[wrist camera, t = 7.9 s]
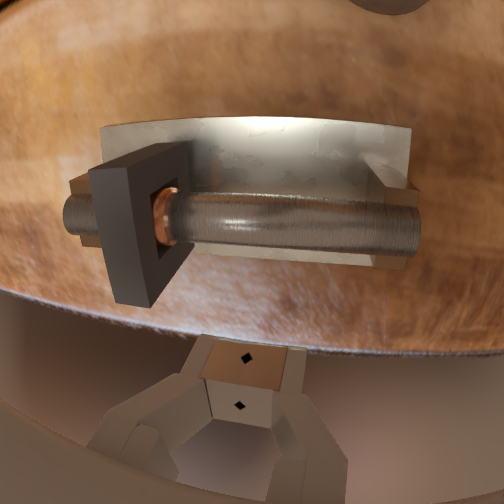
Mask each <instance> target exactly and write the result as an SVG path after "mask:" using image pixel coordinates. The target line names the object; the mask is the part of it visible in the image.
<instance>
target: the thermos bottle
mask: <svg viewBox="0 0 504 504" xmlns="http://www.w3.org/2000/svg"><path fill="white" fill-rule="evenodd" d="M351 1H352V2H354V3H355V4H357V5H359V6H361V7H363V8H365V9H367V10H371V11H374V12H377V13H382V14H390V15H399V14H404V13H409V12H411V11H414V10H416V9H417V8H419V7H420V6H421V5H423V4H424V3H426V2H427V1H428V0H351Z"/></svg>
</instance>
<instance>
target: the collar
mask: <svg viewBox="0 0 504 504" xmlns="http://www.w3.org/2000/svg"><path fill="white" fill-rule="evenodd" d="M88 174H89V181H90V187H91V194H92V200H93V205H94V211H95V216H96V222H97V227H98V232H99V237H100V241H101V246H102V250H103V255H104V259H105V263H106V268H107V272H108V276H109V280H110V283H111V287H112V291H113V295H114V298H115V302H116V303H120V304H126V305H132V306H138V307H144V308H151V307H152V305H153V304H154V303H155V301H156V300H157V298H158V297H159V295H160V294H161V293H162V291H163V290H164V288H165V287H166V286H167V284H168V283H169V281H170V280H171V279H172V277H173V276H174V274H175V273H176V272H177V270H178V269H179V268H180V266H181V265H182V263H183V262H184V261H185V259H186V258H187V257H188V255H189V254H190V252H191V251H192V250H193V248H194V247H195V244H194V243H191V242H177V243H176V244H175V245H159V244H156V239H155V232H154V225H153V217H152V209H151V201H150V194H152V193H153V192H155V191H156V190H158V189H159V188H177V189H178V190H179V191H180V192H190V184H189V170H188V154H187V142H166V143H155V144H152V145H149V146H146V147H144V148H141V149H138V150H136V151H133V152H130V153H128V154H125V155H123V156H120V157H118V158H115V159H113V160H110V161H108V162H105V163H103V164H101V165H98V166H96V167H94V168H91V169H89V170H88Z"/></svg>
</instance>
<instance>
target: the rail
mask: <svg viewBox="0 0 504 504" xmlns="http://www.w3.org/2000/svg"><path fill="white" fill-rule="evenodd" d="M411 131H412V129H411V128H407V127H400V126H392V125H385V124H377V123H368V122H359V121H348V120H336V119H322V118H305V117H276V116H231V117H202V118H184V119H170V120H158V121H148V122H138V123H129V124H121V125H114V126H106V127H102V128H100V136H101V146H102V155H103V163H105V162H108V161H110V160H113V159H115V158H118V157H120V156H123V155H125V154H128V153H130V152H133V151H136V150H138V149H141V148H144V147H146V146H149V145H152V144H155V143H166V142H187V154H188V170H189V184H190V192H180V191H179V190H178V189H177V188H159V189H158V190H156V191H155V192H153V193H152V194H150V201H151V209H152V217H153V225H154V232H155V239H156V244H159V245H175V244H176V243H177V242H191V243H194V244H195V247H194V248H193V250H192V251H191V252H190V253H197V254H210V255H224V256H237V257H250V258H264V259H278V260H292V261H306V262H320V263H334V264H348V265H363V266H373V268H375V269H390V270H405V265H406V261H407V258H412V257H413V256H414V255H415V254H416V252H417V249H418V246H419V241H420V234H421V221H420V215H419V211H418V209H417V204H418V198H419V190H418V189H417V188H416V187H415V186H414V185H413V184H412V183H411V182H410V181H409V180H408V179H407V173H408V164H409V154H410V143H411ZM69 183H70V189H71V195H70V196H69V197H68V199H67V200H66V202H65V205H64V208H63V222H64V226H65V228H66V230H67V231H68V232H69V233H70V234H72V235H80V239H81V243H82V246H85V247H97V248H102V246H101V241H100V237H99V232H98V227H97V222H96V216H95V211H94V205H93V200H92V194H91V187H90V181H89V174H88V172H87V173H85V174H83V175H81V176H79V177H76V178H74V179H72V180H70V181H69Z"/></svg>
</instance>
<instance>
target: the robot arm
mask: <svg viewBox="0 0 504 504" xmlns="http://www.w3.org/2000/svg"><path fill="white" fill-rule="evenodd" d="M306 355H307V348H305V347H294V346H289V347H288V346H284V345H275V344H266V343H257V342H248V341H242V340H236V339H231V338H225V337H217V336H212V335H207V334H201V335H200V336H199V337H198V339H197V341H196V343H195V345H194V347H193V349H192V351H191V352H190V354H189V356H188V358H187V360H186V362H185V364H184V366H183V368H182V370H181V372H180V374H176V373H174V374H172V375H171V376H169V377H167V378H165V379H164V380H162V381H160V382H159V383H157V384H155V385H153V386H152V387H150V388H148V389H146V390H145V391H143V392H141V393H139V394H137V395H136V396H134V397H132V398H130V399H128V400H127V401H125V402H123V403H121V404H119V405H117V406H115V407H114V408H112V409H110V410H108V411H107V413H106V414H105V416H104V418H103V419H102V421H101V423H100V424H99V426H98V427H97V429H96V430H95V432H94V434H93V436H92V437H91V439H90V440H89V442H88V444H87V445H86V447H85V446H83V445H81V444H78V443H77V442H74V441H72V440H71V439H69V438H67V437H65V436H63V435H61V434H59V433H57V432H55V431H54V430H52V429H50V428H48V427H46V426H44V425H43V424H41V423H39V422H38V421H36V420H34V419H33V418H31V417H29V416H28V415H26V414H25V413H23V412H21V411H20V410H18V409H17V408H15V407H13V406H12V405H10V404H9V403H7V402H6V401H5V400H3V399H2V398H0V504H345V493H346V482H347V467H348V459H347V458H346V456H345V455H344V453H343V452H342V450H341V448H340V447H339V445H338V444H337V442H336V441H335V439H334V438H333V436H332V434H331V433H330V431H329V430H328V428H327V426H326V425H325V423H324V422H323V420H322V419H321V417H320V415H319V414H318V412H317V411H316V409H315V407H314V406H313V404H312V402H311V401H310V399H309V398H308V396H307V395H304V394H301V392H302V385H303V378H304V370H305V362H306ZM212 418H215V419H220V420H226V421H232V422H238V423H244V424H249V425H254V426H260V427H265V428H271V432H272V434H273V436H274V439H275V441H276V443H277V445H278V448H279V450H280V453H281V455H282V456H280V457H279V458H277V459H276V460H275V463H274V468H273V472H272V476H271V481H270V484H269V488H268V492H267V496H266V500H265V502H264V501H258V500H252V499H246V498H240V497H235V496H231V495H226V494H221V493H217V492H213V491H208V490H204V489H200V488H196V487H193V486H189V485H186V484H182V483H179V482H176V479H177V477H178V474H179V471H178V469H177V467H176V465H175V463H174V461H173V459H172V458H171V455H170V453H171V452H173V451H174V450H175V449H177V448H178V447H179V446H180V445H182V444H183V443H184V442H185V441H187V440H188V439H189V438H190V437H192V436H193V435H194V434H195V433H197V432H198V431H199V430H200V429H202V428H203V427H204V426H205V425H206V424H208V423H209V422H210V421H211V420H212ZM434 504H504V489H503V490H499V491H495V492H491V493H487V494H483V495H478V496H474V497H469V498H464V499H459V500H453V501H448V502H441V503H434Z"/></svg>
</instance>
